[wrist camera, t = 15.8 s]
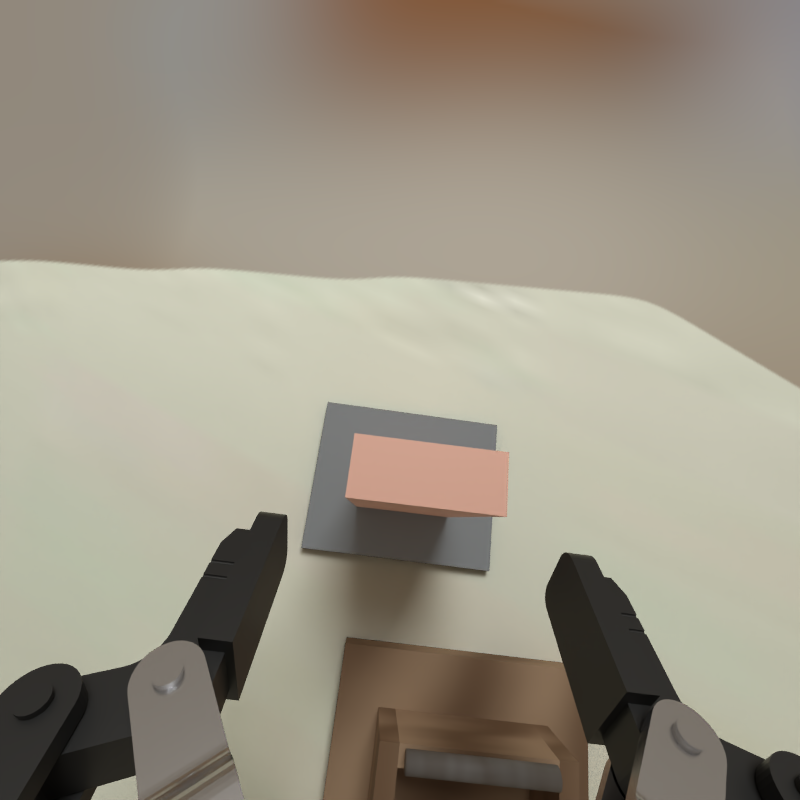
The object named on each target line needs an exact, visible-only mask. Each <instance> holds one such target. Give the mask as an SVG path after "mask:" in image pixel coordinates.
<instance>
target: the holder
mask: <svg viewBox="0 0 800 800" xmlns="http://www.w3.org/2000/svg"><path fill="white" fill-rule="evenodd" d="M323 800H588V743H587V740H586V737H585V733H584V730H583V727H582V724H581V720H580V717H579V714H578V710H577V707H576V704H575V701H574V697H573V694H572V691H571V687H570V684H569V681H568V677H567V674H566V671H565V668H564V664H563V663H560V662H552V661H543V660H535V659H526V658H518V657H509V656H501V655H492V654H484V653H475V652H467V651H458V650H450V649H442V648H433V647H425V646H416V645H408V644H399V643H391V642H382V641H374V640H365V639H357V638H348V637H347V638H346V643H345V650H344V657H343V664H342V671H341V678H340V685H339V692H338V699H337V706H336V713H335V720H334V727H333V734H332V741H331V748H330V755H329V762H328V769H327V776H326V783H325V790H324V797H323Z"/></svg>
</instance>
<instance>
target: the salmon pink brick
mask: <svg viewBox="0 0 800 800" xmlns="http://www.w3.org/2000/svg"><path fill="white" fill-rule="evenodd" d="M508 466H509V452H502V451H494V450H486V449H478V448H470V447H462V446H454V445H446V444H438V443H430V442H422V441H414V440H406V439H398V438H390V437H382V436H374V435H366V434H358V433H354V440H353V447H352V454H351V460H350V467H349V474H348V481H347V487H346V494H345V498H346V499H348V500H349V501H350V502H351V503H353V504H354V505H355V506H356V507H365V508H373V509H382V510H390V511H399V512H407V513H415V514H424V515H432V516H441V517H507V496H508Z"/></svg>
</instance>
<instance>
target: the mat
mask: <svg viewBox="0 0 800 800" xmlns="http://www.w3.org/2000/svg"><path fill="white" fill-rule="evenodd" d="M354 433H358V434H366V435H374V436H382V437H390V438H398V439H406V440H414V441H422V442H430V443H438V444H446V445H454V446H462V447H470V448H478V449H486V450H494V451H496V434H497V425H491V424H484V423H477V422H469V421H462V420H455V419H447V418H440V417H433V416H425V415H418V414H411V413H403V412H396V411H389V410H382V409H374V408H367V407H360V406H352V405H345V404H338V403H330V402H328V404H327V410H326V415H325V421H324V426H323V432H322V437H321V443H320V448H319V454H318V459H317V464H316V470H315V475H314V481H313V486H312V492H311V497H310V503H309V508H308V514H307V519H306V525H305V530H304V536H303V541H302V547H301V548H309V549H317V550H325V551H333V552H341V553H349V554H357V555H365V556H373V557H381V558H389V559H397V560H405V561H413V562H421V563H429V564H437V565H445V566H453V567H461V568H469V569H477V570H485V571H489V566H490V547H491V528H492V517H441V516H432V515H424V514H415V513H407V512H399V511H390V510H382V509H373V508H365V507H356V506H355V505H354V504H353V503H351V502H350V501H349V500H348V499H346V498H345V494H346V487H347V481H348V474H349V467H350V460H351V454H352V447H353V440H354Z"/></svg>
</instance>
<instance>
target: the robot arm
mask: <svg viewBox="0 0 800 800" xmlns="http://www.w3.org/2000/svg"><path fill="white" fill-rule="evenodd" d="M286 558H287V515H283V514H275V513H268V512H259V514H258V515H257V517H256V519H255V521H254V523H253V525H252V527H251V529H250V530H245V529H238V528H237V529H235V530H234V531H233V532H232V533H231V534H230V535H229V536H228V537H226V538H225V539H224V540H223V541H222V542H221V543H220V545H219V547H218V549H217V550H216V552H215V554H214V556H213V558H212V560H211V563H209V565H208V567H207V568H206V570H205V572H204V575H203V577H201V579H200V581H199V583H198V585H197V587H196V588H195V590H194V592H193V594H192V596H191V597H190V599H189V601H188V603H187V605H186V606H185V608H184V610H183V612H182V614H181V615H180V617H179V619H178V621H177V623H176V624H175V626H174V628H173V630H172V632H171V633H170V635H169V636H168V638H167V639H166V640H165V641H164V643H163V644H162V645H161V646H160V647H158V648H156V649H154V650H153V651H152V652H150V653H149V654H148V655H147V656H145V657H144V658H143V659H142V660H140V661H138V662H136V663H134V664H131V665H128V666H125V667H121V668H116V669H111V670H107V671H102V672H97V673H93V674H88V675H83V676H81V675H80V673H79V672H78V670H77V669H76V668H74V667H73V666H71V665H68V664H51V665H46V666H43V667H40V668H38V669H35V670H33V671H31V672H29V673H27V674H26V675H24V676H22V677H21V678H19V679H18V680H16V681H15V682H14V683H13V684H11V685H10V686H9V687H8V688H7V689H6V690H5V691H4V692H3V693H2V694H1V695H0V800H91V798H92V796H93V794H94V792H95V790H96V788H97V786H101V785H104V784H107V783H111V782H114V781H118V780H121V779H125V778H128V777H131V776H135V775H136V780H137V789H138V800H244V797H243V793H242V789H241V785H240V782H239V778H238V774H237V771H236V767H235V764H234V760H233V757H232V755H231V753H230V750H229V747H228V743H227V739H226V735H225V731H224V728H223V724H222V720H221V716H220V713H221V711H222V708H223V705H224V703H225V700H226V699H231V700H239V698H240V695H241V693H242V690H243V687H244V684H245V681H246V678H247V675H248V672H249V670H250V667H251V664H252V661H253V658H254V655H255V652H256V650H257V647H258V644H259V641H260V638H261V635H262V632H263V629H264V627H265V624H266V621H267V618H268V615H269V612H270V609H271V607H272V604H273V601H274V598H275V595H276V592H277V589H278V586H279V584H280V581H281V578H282V575H283V572H284V568H285V564H286ZM545 602H546V608H547V612H548V615H549V618H550V621H551V625H552V628H553V631H554V635H555V638H556V641H557V645H558V648H559V651H560V654H561V658H562V661H563V664H564V668H565V671H566V674H567V677H568V681H569V684H570V687H571V691H572V694H573V697H574V701H575V704H576V707H577V710H578V714H579V717H580V720H581V724H582V727H583V730H584V733H585V737H586V740H587V743H590V744H599V745H605V746H606V749H607V752H608V755H609V759H608V761H607V762H606V765H605V768H604V771H603V775H602V779H601V782H600V786H599V789H598V793H597V797H596V800H800V756H798V755H796V754H794V753H790V752H787V751H778V752H775V753H774V754H772V755H771V756H770V757H768V758H767V759H766V760H765V759H763V758H761V757H759V756H756V755H754V754H752V753H750V752H748V751H746V750H743V749H741V748H739V747H737V746H735V745H733V744H730V743H728V742H726V741H724V740H722V739H720V738H718V736H717V735H716V733H715V732H714V730H713V729H712V728H711V726H710V725H709V724H708V723H707V722H706V721H705V720H704V719H703V718H702V717H701V716H700V715H699V714H698V713H697V712H695V711H694V710H693V709H691V708H690V707H688V706H687V705H685V704H683V703H682V702H681V701H680V699H679V697H678V696H677V694H676V692H675V690H674V688H673V686H672V684H671V682H670V680H669V678H668V676H667V674H666V672H665V670H664V668H663V666H662V664H661V662H660V660H659V658H658V656H657V655H656V653H655V651H654V649H653V647H652V645H651V643H650V641H649V639H648V637H647V635H645V634H644V629H643V627H642V625H641V623H640V621H639V619H638V618H636V613H635V611H634V609H633V607H632V605H631V603H630V601H629V599H628V597H627V596H626V594H625V593H624V592H623V591H622V590H621V589H620V588H619V587H618V585H617V584H616V583H615V582H614V581H613V580H612V579H611V578H607V577H604V576H603V574H602V572H601V570H600V568H599V566H598V564H597V562H596V560H595V559H594V558H593V557H592V556H588V555H580V554H572V553H563V554H562V555H561V557H560V559H559V561H558V564H557V566H556V568H555V570H554V572H553V574H552V576H551V578H550V580H549V582H548V585H547V587H546V593H545Z"/></svg>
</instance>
